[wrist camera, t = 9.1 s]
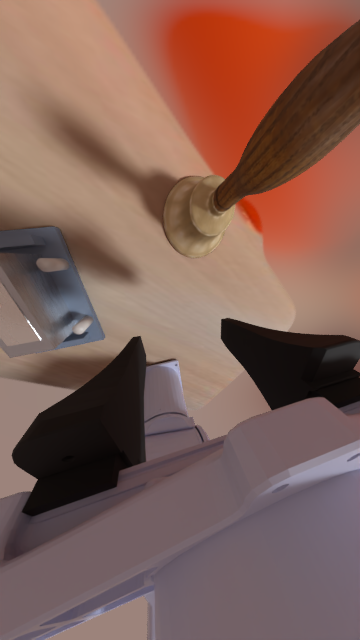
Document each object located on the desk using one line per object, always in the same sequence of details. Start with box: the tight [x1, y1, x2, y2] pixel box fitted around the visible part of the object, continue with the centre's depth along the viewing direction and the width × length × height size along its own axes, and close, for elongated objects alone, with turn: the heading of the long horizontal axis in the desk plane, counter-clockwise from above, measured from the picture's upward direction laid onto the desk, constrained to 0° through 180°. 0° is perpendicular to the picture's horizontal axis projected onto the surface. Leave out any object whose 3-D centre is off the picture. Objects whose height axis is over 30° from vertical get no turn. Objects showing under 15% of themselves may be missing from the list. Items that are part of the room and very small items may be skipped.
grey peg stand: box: [0, 227, 105, 353], centre depth 15 cm, size 14×9×4 cm, turn 6°
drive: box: [0, 253, 76, 358], centre depth 14 cm, size 9×4×5 cm, turn 6°
